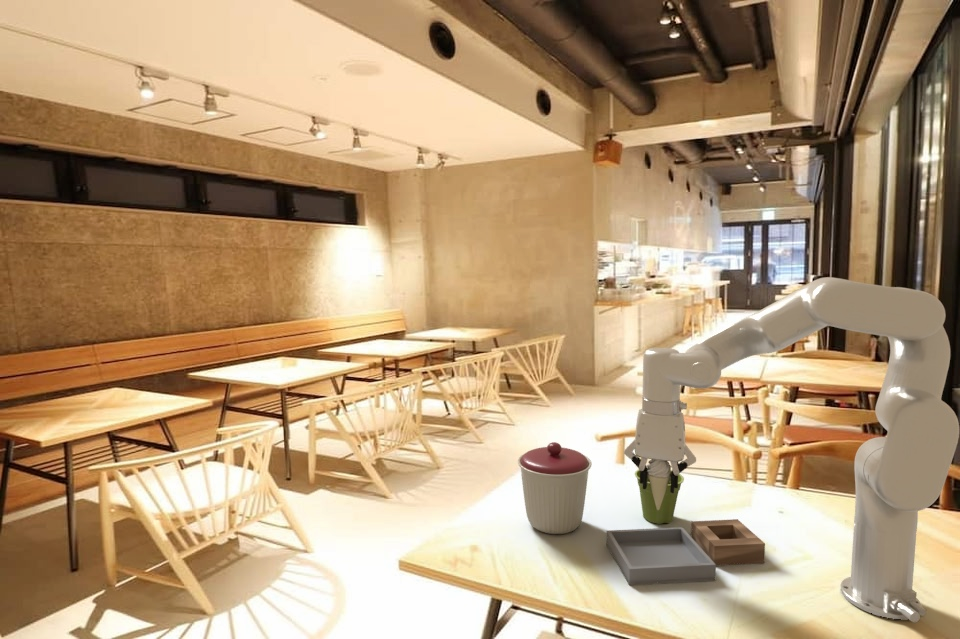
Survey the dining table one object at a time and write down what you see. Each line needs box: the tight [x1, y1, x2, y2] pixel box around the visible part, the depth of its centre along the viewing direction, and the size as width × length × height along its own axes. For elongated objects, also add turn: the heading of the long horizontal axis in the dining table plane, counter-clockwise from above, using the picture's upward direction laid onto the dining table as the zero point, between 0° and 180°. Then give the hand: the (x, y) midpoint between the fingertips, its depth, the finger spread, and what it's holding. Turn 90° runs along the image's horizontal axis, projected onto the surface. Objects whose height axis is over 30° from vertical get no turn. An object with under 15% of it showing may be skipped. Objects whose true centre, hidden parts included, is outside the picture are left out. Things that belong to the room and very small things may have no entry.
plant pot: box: [634, 469, 685, 525], centre depth 140 cm, size 12×12×11 cm
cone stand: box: [690, 518, 766, 567], centre depth 125 cm, size 11×11×4 cm
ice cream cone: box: [646, 459, 672, 510], centre depth 119 cm, size 5×5×15 cm
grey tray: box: [605, 526, 717, 586], centre depth 121 cm, size 16×18×4 cm
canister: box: [517, 442, 592, 535], centre depth 137 cm, size 18×18×21 cm
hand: (658, 487), depth 119 cm, fingers closed on ice cream cone, 5 cm apart
